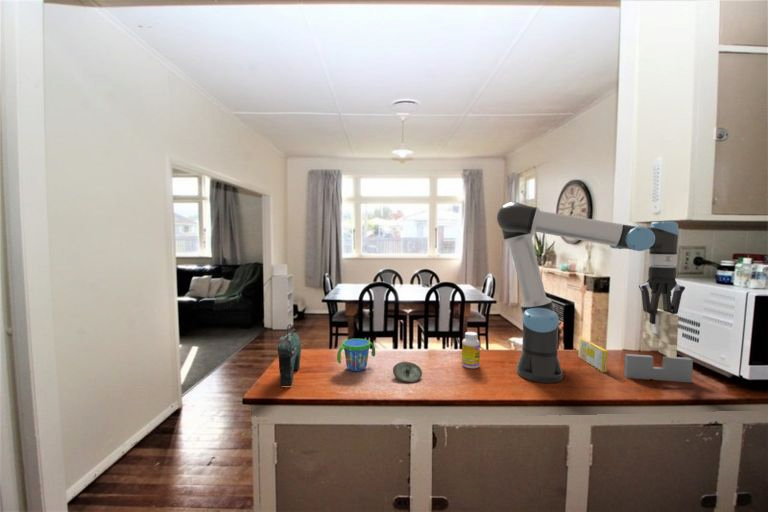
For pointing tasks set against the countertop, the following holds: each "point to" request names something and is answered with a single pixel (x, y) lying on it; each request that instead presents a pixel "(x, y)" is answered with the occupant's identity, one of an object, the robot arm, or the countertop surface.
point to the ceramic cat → (288, 356)
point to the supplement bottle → (470, 350)
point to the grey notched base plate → (658, 368)
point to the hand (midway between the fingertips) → (659, 333)
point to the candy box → (593, 354)
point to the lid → (407, 372)
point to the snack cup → (356, 353)
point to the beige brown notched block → (662, 333)
